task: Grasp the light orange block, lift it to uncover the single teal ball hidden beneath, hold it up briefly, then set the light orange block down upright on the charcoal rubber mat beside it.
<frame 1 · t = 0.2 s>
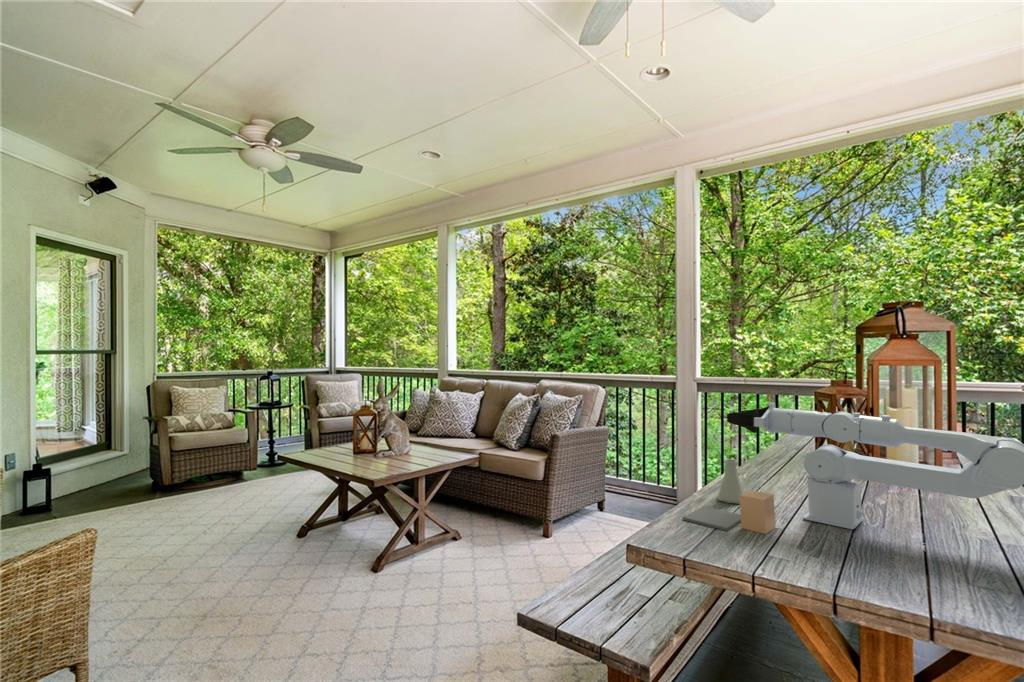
hand: (733, 416, 120), 21 cm above the table, tool horizontal, fingers open, 7 cm apart
ball: (757, 520, 103), in the light orange block
mat: (714, 519, 109), on the table
flask: (732, 500, 122), on the table
light orange block: (758, 527, 103), on the table
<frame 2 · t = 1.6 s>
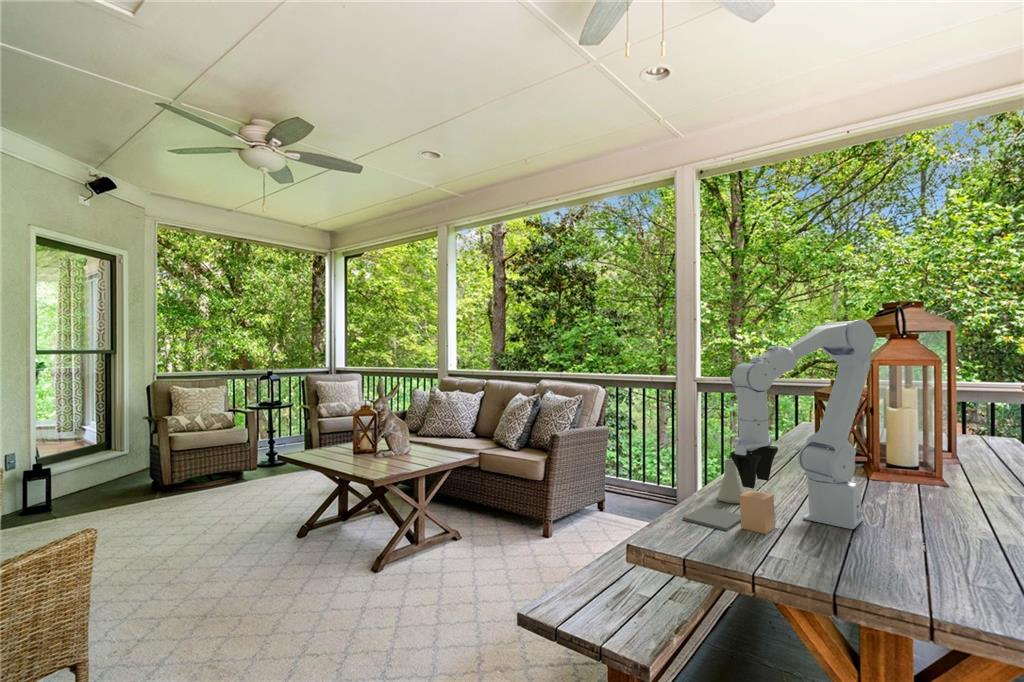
hand: (755, 483, 103), 9 cm above the table, tool pointing down, fingers open, 7 cm apart
nothing on the table moved.
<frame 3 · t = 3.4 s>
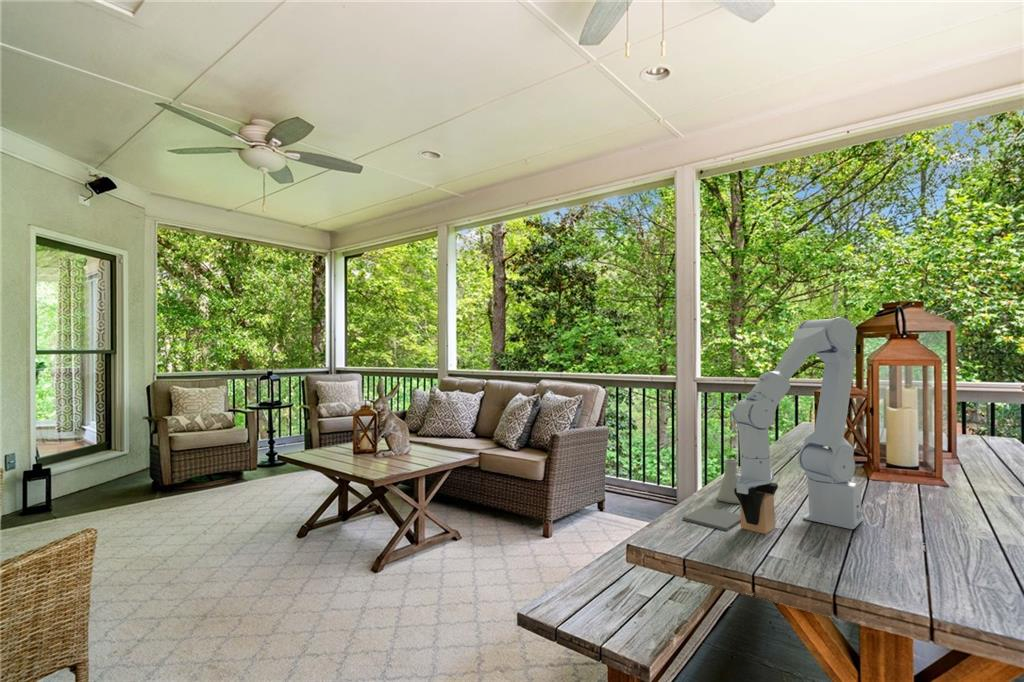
hand: (757, 520, 103), 2 cm above the table, tool pointing down, fingers closed on light orange block, 5 cm apart
light orange block: (758, 527, 103), on the table, touching gripper
everything else where it was.
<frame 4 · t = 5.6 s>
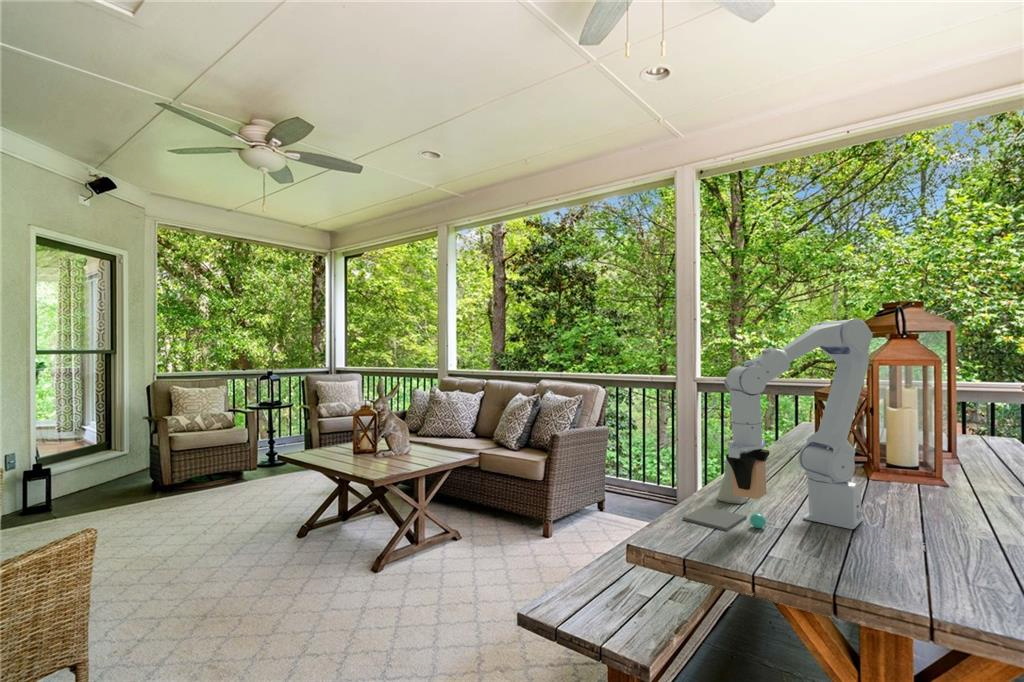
hand: (749, 486, 104), 9 cm above the table, tool pointing down, fingers closed on light orange block, 5 cm apart
light orange block: (749, 494, 104), point 7 cm above the table, touching gripper
everything else where it was.
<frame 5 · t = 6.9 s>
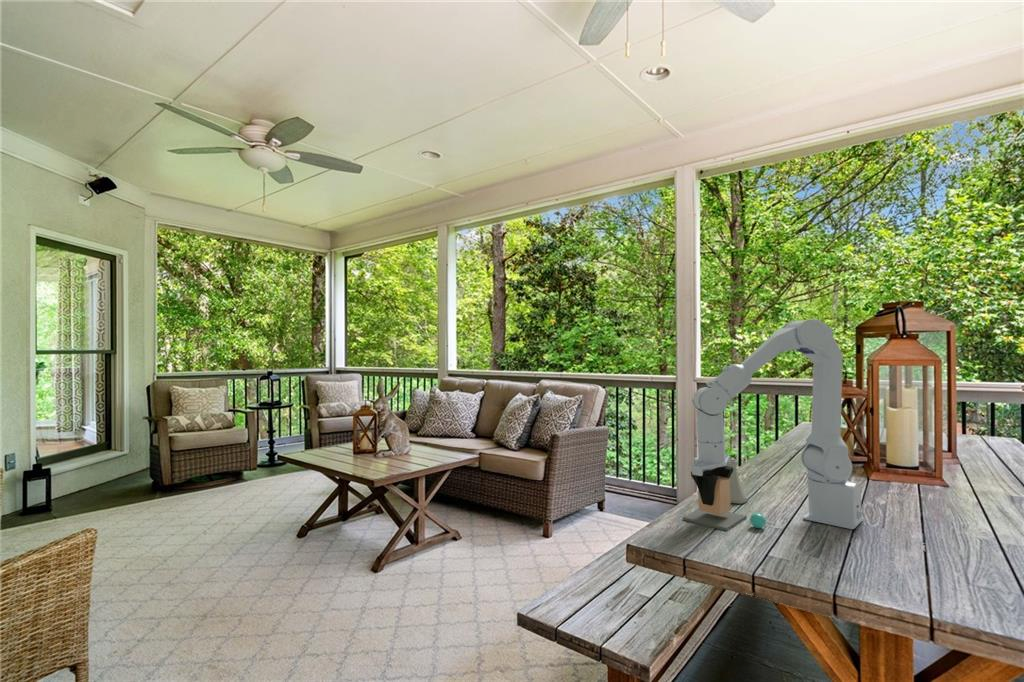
hand: (713, 501, 109), 4 cm above the table, tool pointing down, fingers closed on light orange block, 5 cm apart
light orange block: (714, 509, 109), point 2 cm above the table, touching gripper
everything else where it was.
when the fingers open (4 cm above the table, at t = 7.9 s): light orange block drops 1 cm, resting on mat.
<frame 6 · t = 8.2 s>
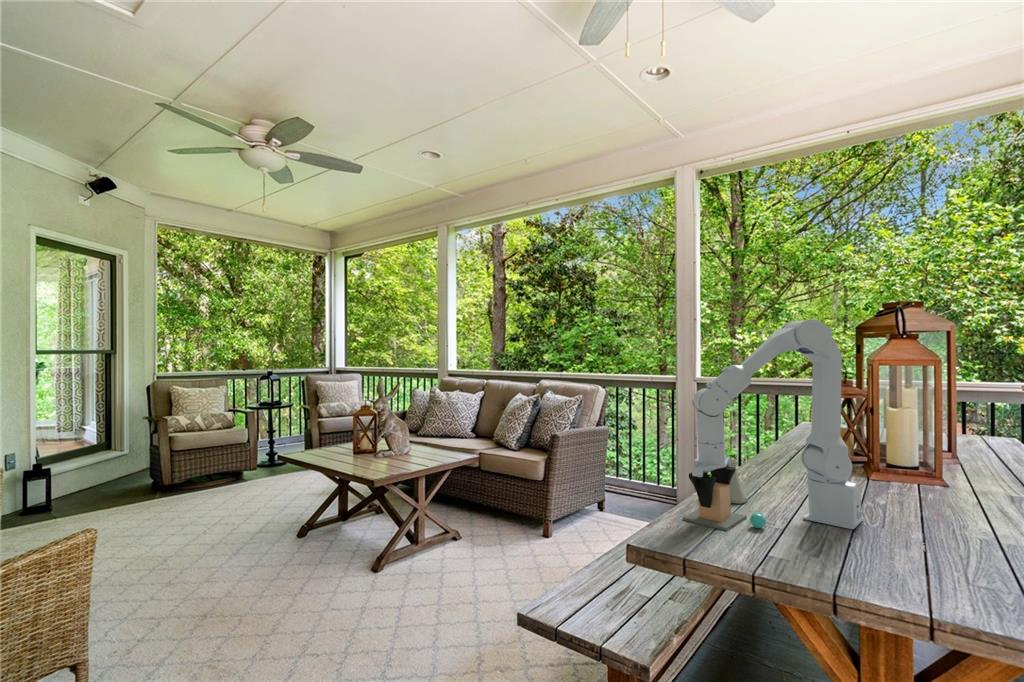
hand: (713, 502, 109), 4 cm above the table, tool pointing down, fingers open, 7 cm apart
light orange block: (715, 516, 109), point 1 cm above the table, touching mat
everything else where it was.
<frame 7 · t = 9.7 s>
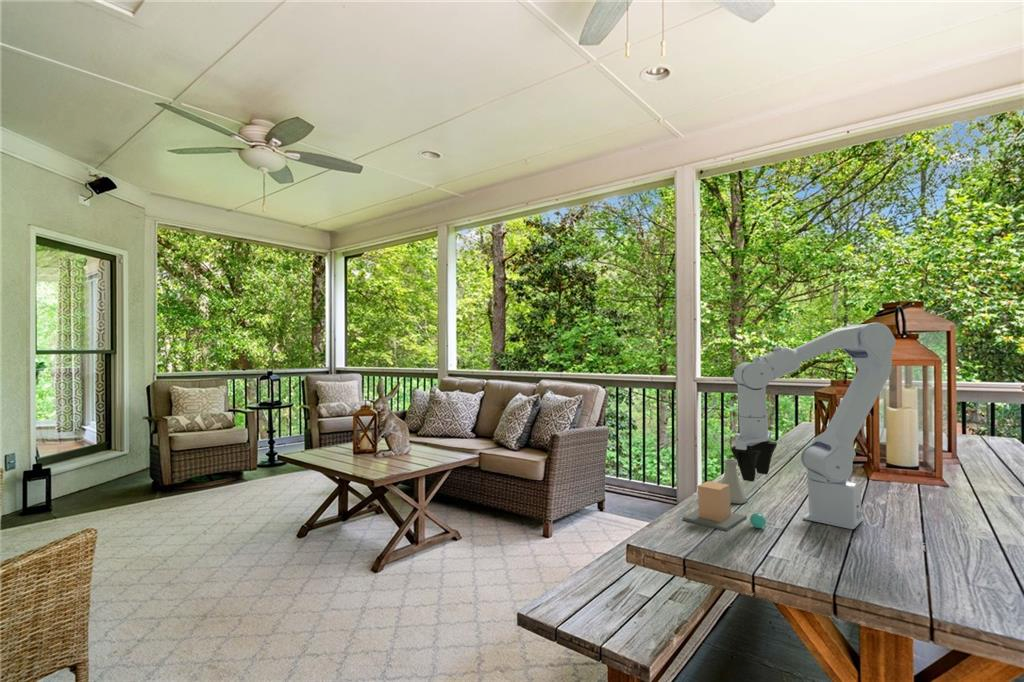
hand: (755, 477, 108), 9 cm above the table, tool pointing down, fingers open, 7 cm apart
nothing on the table moved.
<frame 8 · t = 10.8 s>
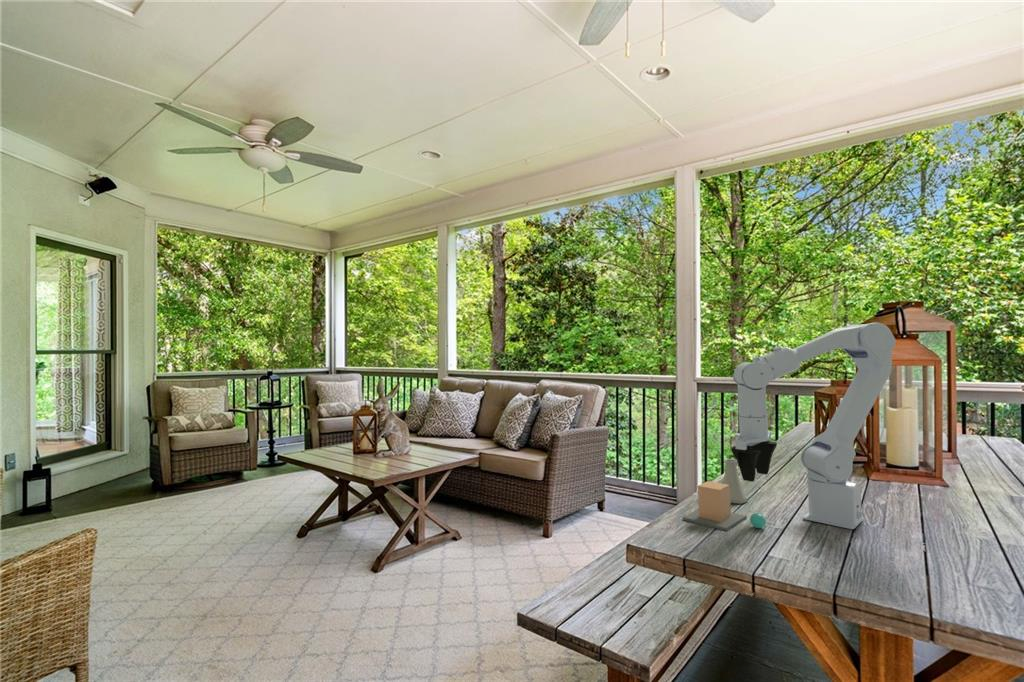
hand: (755, 477, 108), 9 cm above the table, tool pointing down, fingers open, 7 cm apart
nothing on the table moved.
at the end: light orange block 0.1 cm off-centre on the mat, point 0.6 cm above the mat's base; light orange block tilted 0°; the gripper is holding nothing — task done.
